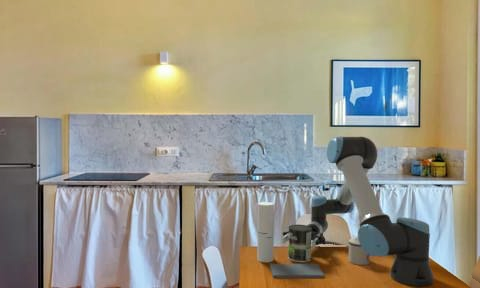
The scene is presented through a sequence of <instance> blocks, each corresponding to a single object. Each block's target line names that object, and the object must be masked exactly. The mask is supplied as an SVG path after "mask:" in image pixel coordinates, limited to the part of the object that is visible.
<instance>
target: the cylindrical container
mask: <svg viewBox="0 0 480 288" xmlns="http://www.w3.org/2000/svg"><path fill="white" fill-rule="evenodd" d="M274 230H275V203H274V202H269V201H260V202H258V203H257V243H256V244H257V245H256V246H257V253H256V256H257V259H256V260H257V261H258V262H260V263H270V262H273V261H274V252H275V251H274V249H275V248H274V243H275V241H274V240H275V239H274V237H275V231H274Z"/></svg>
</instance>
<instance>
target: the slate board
mask: <svg viewBox="0 0 480 288" xmlns="http://www.w3.org/2000/svg"><path fill="white" fill-rule="evenodd" d="M269 267H270V271H271V275H272V277H273V279H277V278H279V279H280V278H281V279H283V278H289V279H290V278H291V279H292V278H294V279H295V278H296V279H297V278H299V279H300V278H302V279H305V278H308V279H309V278H310V279H313V278H316V279H317V278H321V279H322V278H324V279H325V274H324V272H323V270H322V269H321V267H320V266H319V264H318V263H270V264H269Z"/></svg>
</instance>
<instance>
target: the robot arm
mask: <svg viewBox="0 0 480 288" xmlns="http://www.w3.org/2000/svg"><path fill="white" fill-rule="evenodd" d="M327 144H328V145H327V146H326V158H327V161H328V162H329V163H330V164H333V165H334V164H335V166H336V168H337V170H338V171H340V172H342V174H343V176H344V179H345V180H344V182H343V183H342V186H341V189H340V190H339V192H338V194H337V196H336V198H334V199H333V198H331V199H330V198H329V199H327V197H326V196H325V195H313V196H312V197H311V202H310V203H311V205H310V206H311V207H310V208H311V213H310V214H311V216H310V217H311V218H310V219H311V220H310V223H307V226H310V227H311V228H312V231H311V249H314V248H315V247H316V246H319V245H321V244H322V245H326V238H325V235H324V233H326V231H327V229H329V227H328V226H329V223H328V220H327V215H338V214H339V215H340V214H341V215H343V214H349V213H352V212H353V210H354V204H355V207H356V210H357V212H358V214H359V216H360V217H359V218H361V222H360V223H359V228H358V230H357V235H359V237H358V240H359V243H360V245H361V247H362V249H363V250H364V251H365V252H366V253H367V254H369V256H371V257H386V256H395V258H394V260H393V264H391V265H392V266H391V268H390V277H391V278H392V279H393V280H394V281H395V282H398V283H401V284H404V285H406V286H407V285H408V286H413V287H429V286H432V285H434V273H433V270H432V268H431V264H430V241H431V240H430V237H431V233H430V225H429V224H428V223H427V222H426V221H422V220H419V219H414V218H409V217H401V216H400V217H397V218H396V220H395V222H392V220H391V217H390V216H389V215H388V214H386V213H384V212H383V209H382V207H381V206H380V203H379V201H378V198H377V196H376V194H375V192H374V189H373V187H372V184H371V182H370V180H369V178H368V175H367V174H368V172H369V171H370V170H371V169H373V168H374V166H375V164H376V162H377V160H378V149H377V145H376V144H375V143H374V142H373V141H372V140H371V139H370V138H368V137H365V136H342V135H341V136H334V137H332V138H331V139H330V140H329V142H328V143H327ZM281 240H282V244H286V243H287V242H289V230H288V231H283V232H282V238H281Z"/></svg>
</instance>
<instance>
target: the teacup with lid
mask: <svg viewBox="0 0 480 288" xmlns="http://www.w3.org/2000/svg"><path fill="white" fill-rule="evenodd" d="M358 237H359V235H358V234H357V235H356V236H355V237H353V238H350V239H349V240H348V262H349V263H351V264H353V265H357V266H365V265H369V264H370V255H369V254H367V253H366V252H365V251H364V250H363V249H362V247H361V245H360V243H359V240H358Z"/></svg>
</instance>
